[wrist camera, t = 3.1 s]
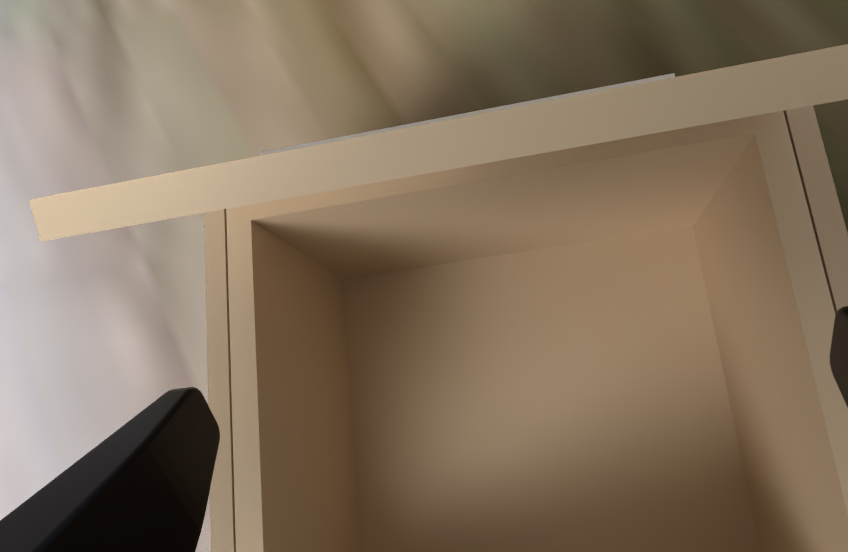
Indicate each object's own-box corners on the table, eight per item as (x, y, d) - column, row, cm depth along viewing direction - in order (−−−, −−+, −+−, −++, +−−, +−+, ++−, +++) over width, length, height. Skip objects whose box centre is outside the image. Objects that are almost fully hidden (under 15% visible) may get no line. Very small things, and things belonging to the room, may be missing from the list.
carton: (829, 670, 16) (1010, 840, 10) (339, 686, 19) (216, 833, 12) (725, 206, 19) (810, 94, 13) (314, 270, 22) (204, 203, 15)
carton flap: (994, 73, 7) (993, 6, 7) (41, 241, 9) (26, 193, 9) (780, 99, 13) (778, 64, 13) (225, 199, 15) (218, 169, 15)
